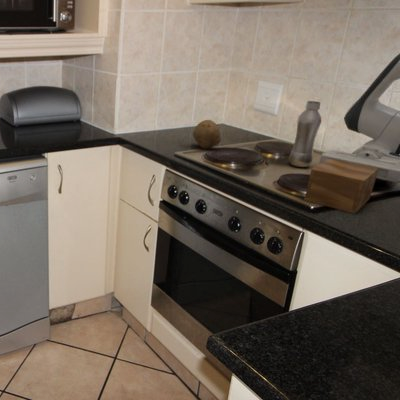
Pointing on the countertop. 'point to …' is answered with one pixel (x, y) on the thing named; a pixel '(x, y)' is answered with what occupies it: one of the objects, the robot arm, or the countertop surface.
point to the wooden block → (341, 184)
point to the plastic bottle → (306, 135)
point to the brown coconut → (207, 134)
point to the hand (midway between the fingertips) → (353, 172)
